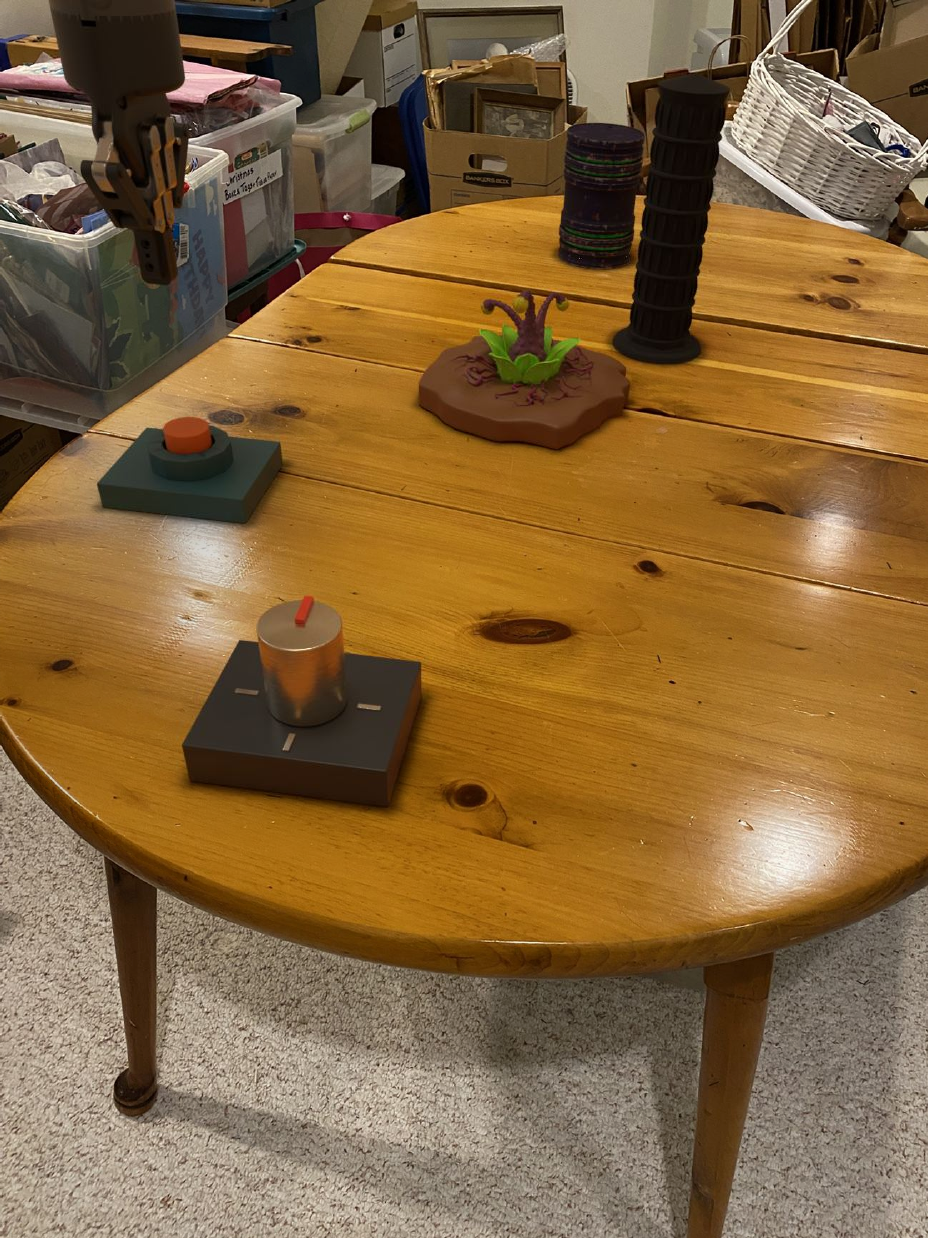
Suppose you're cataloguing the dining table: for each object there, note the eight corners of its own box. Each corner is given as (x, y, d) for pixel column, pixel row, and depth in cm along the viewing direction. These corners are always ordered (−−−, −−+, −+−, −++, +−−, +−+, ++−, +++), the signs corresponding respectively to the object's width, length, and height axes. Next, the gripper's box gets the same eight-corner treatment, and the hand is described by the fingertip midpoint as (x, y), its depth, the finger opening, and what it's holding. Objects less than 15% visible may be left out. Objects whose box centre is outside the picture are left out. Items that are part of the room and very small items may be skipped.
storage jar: (624, 273, 131) (639, 145, 122) (550, 263, 133) (559, 136, 123) (636, 249, 139) (650, 127, 129) (565, 240, 140) (574, 119, 130)
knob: (338, 731, 60) (331, 650, 56) (257, 723, 60) (245, 641, 56) (355, 678, 64) (349, 599, 60) (279, 671, 64) (268, 591, 60)
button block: (102, 507, 83) (91, 462, 80) (151, 449, 90) (142, 407, 88) (245, 523, 82) (239, 479, 79) (283, 464, 90) (278, 422, 87)
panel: (189, 781, 61) (180, 742, 58) (244, 674, 68) (238, 637, 66) (388, 807, 60) (386, 769, 58) (421, 696, 67) (421, 659, 65)
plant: (385, 413, 98) (381, 295, 91) (476, 344, 112) (479, 237, 104) (578, 464, 92) (590, 343, 85) (649, 385, 106) (665, 274, 99)
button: (159, 454, 83) (155, 434, 82) (176, 433, 85) (173, 414, 84) (202, 458, 82) (199, 439, 81) (218, 438, 85) (215, 418, 84)
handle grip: (616, 361, 110) (708, 365, 110) (649, 81, 93) (758, 87, 93) (608, 326, 118) (694, 329, 118) (638, 60, 100) (738, 66, 101)
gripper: (100, -18, 69) (147, 248, 80) (1, 10, 59) (71, 308, 70) (208, -9, 69) (240, 256, 80) (126, 20, 59) (176, 319, 70)
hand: (160, 280), depth 75 cm, fingers closed
